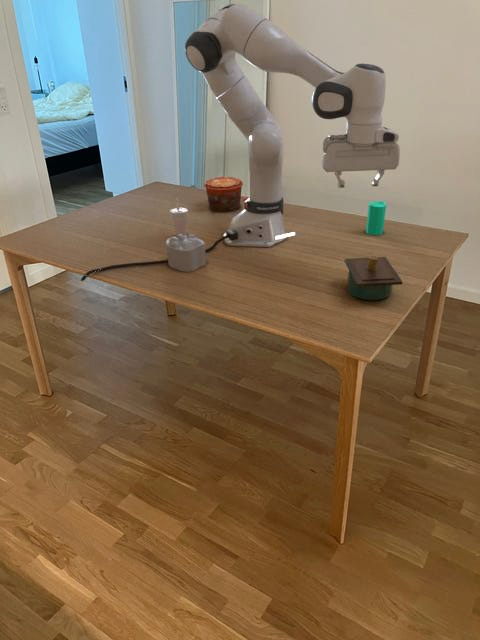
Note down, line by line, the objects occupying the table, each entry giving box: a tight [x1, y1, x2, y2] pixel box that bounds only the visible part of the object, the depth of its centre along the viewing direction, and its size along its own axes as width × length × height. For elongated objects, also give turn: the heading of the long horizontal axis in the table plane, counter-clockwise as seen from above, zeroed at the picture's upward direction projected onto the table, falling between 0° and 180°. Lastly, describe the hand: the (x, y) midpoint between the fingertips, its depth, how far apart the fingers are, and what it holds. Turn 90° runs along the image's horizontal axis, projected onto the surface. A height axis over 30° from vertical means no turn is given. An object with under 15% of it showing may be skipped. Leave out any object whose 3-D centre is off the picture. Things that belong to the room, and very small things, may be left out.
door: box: [343, 255, 403, 286], centre depth 136 cm, size 12×16×4 cm
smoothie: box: [169, 198, 189, 236], centre depth 178 cm, size 6×6×14 cm
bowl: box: [346, 270, 393, 301], centre depth 139 cm, size 12×12×6 cm
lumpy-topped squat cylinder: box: [165, 233, 207, 273], centre depth 159 cm, size 10×13×9 cm
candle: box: [365, 200, 387, 236], centre depth 175 cm, size 6×6×12 cm
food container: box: [203, 176, 244, 213], centre depth 204 cm, size 16×16×11 cm
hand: (357, 186), depth 136 cm, fingers open, 8 cm apart
